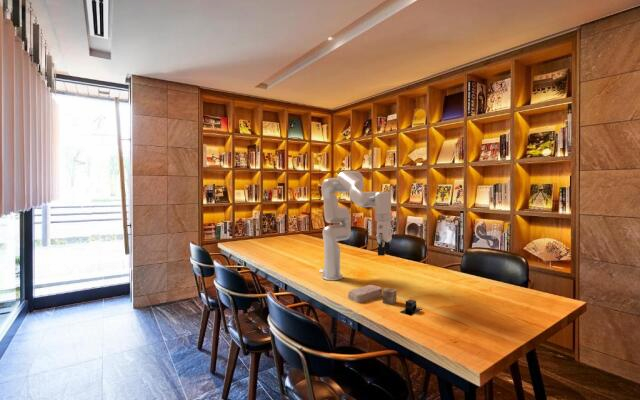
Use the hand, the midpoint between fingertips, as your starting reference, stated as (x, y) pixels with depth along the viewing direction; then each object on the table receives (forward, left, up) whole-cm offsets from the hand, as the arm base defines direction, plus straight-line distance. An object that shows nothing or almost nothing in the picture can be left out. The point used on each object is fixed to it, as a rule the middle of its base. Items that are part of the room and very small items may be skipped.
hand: (384, 253), depth 156 cm
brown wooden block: (+3, 0, -23) cm, 23 cm away
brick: (-10, 0, -24) cm, 25 cm away
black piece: (+14, -5, -24) cm, 28 cm away
